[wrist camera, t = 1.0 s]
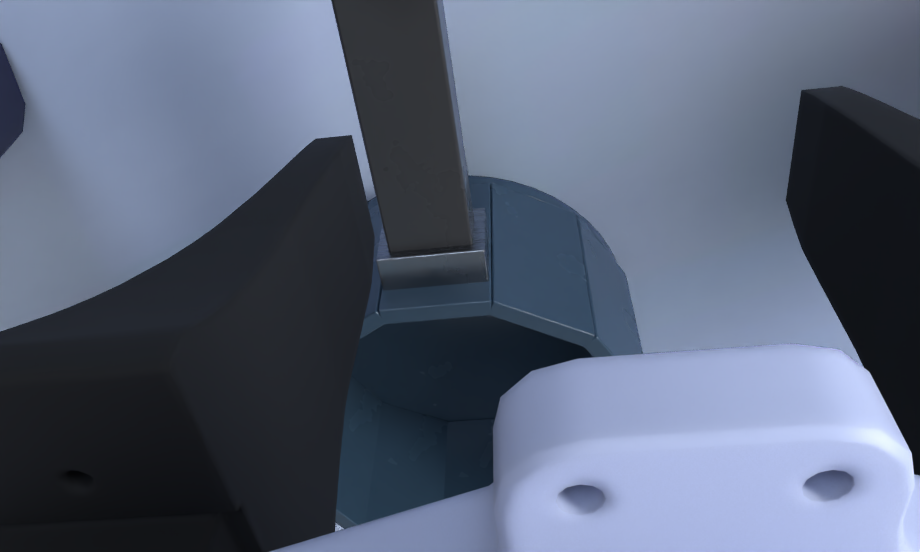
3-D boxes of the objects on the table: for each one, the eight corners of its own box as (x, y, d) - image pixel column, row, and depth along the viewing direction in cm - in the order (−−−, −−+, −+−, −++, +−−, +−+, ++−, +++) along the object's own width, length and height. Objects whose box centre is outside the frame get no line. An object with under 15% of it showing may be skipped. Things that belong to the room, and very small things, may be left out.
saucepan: (624, 405, 32) (650, 548, 27) (346, 425, 33) (322, 565, 28) (618, -170, 20) (663, -104, 15) (177, -108, 21) (80, -27, 16)
